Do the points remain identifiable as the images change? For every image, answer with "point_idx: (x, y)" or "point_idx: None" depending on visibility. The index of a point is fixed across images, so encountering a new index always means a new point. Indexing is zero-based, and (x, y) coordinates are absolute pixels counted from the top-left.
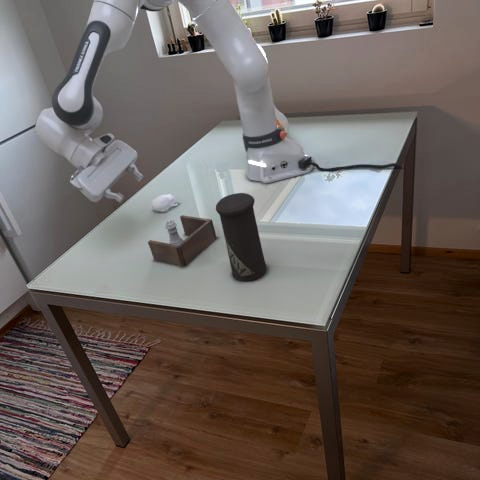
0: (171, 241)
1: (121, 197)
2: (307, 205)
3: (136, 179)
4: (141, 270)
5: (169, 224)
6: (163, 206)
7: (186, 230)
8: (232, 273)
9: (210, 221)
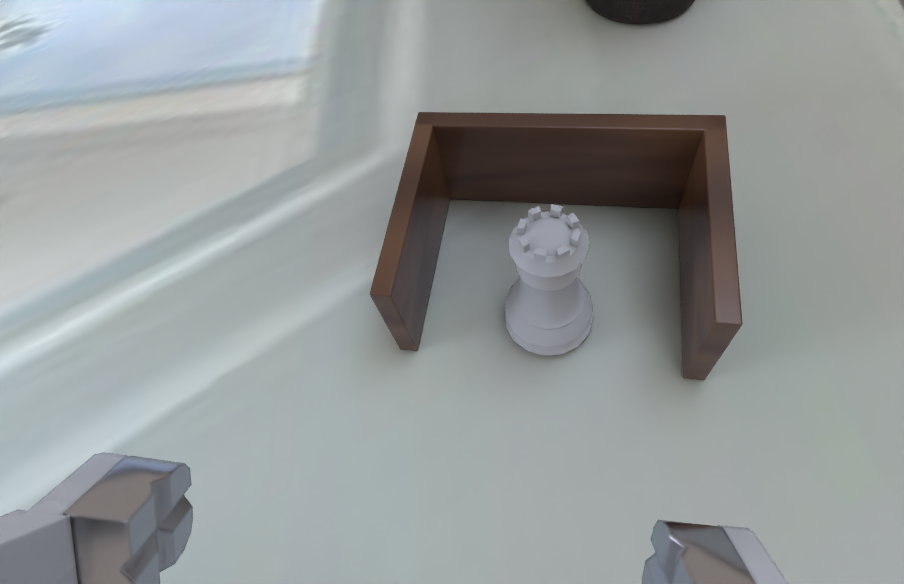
0: (579, 296)
1: (718, 525)
2: (202, 22)
3: (157, 572)
4: (824, 400)
5: (571, 219)
6: None
7: (415, 318)
8: (682, 6)
9: (433, 114)
